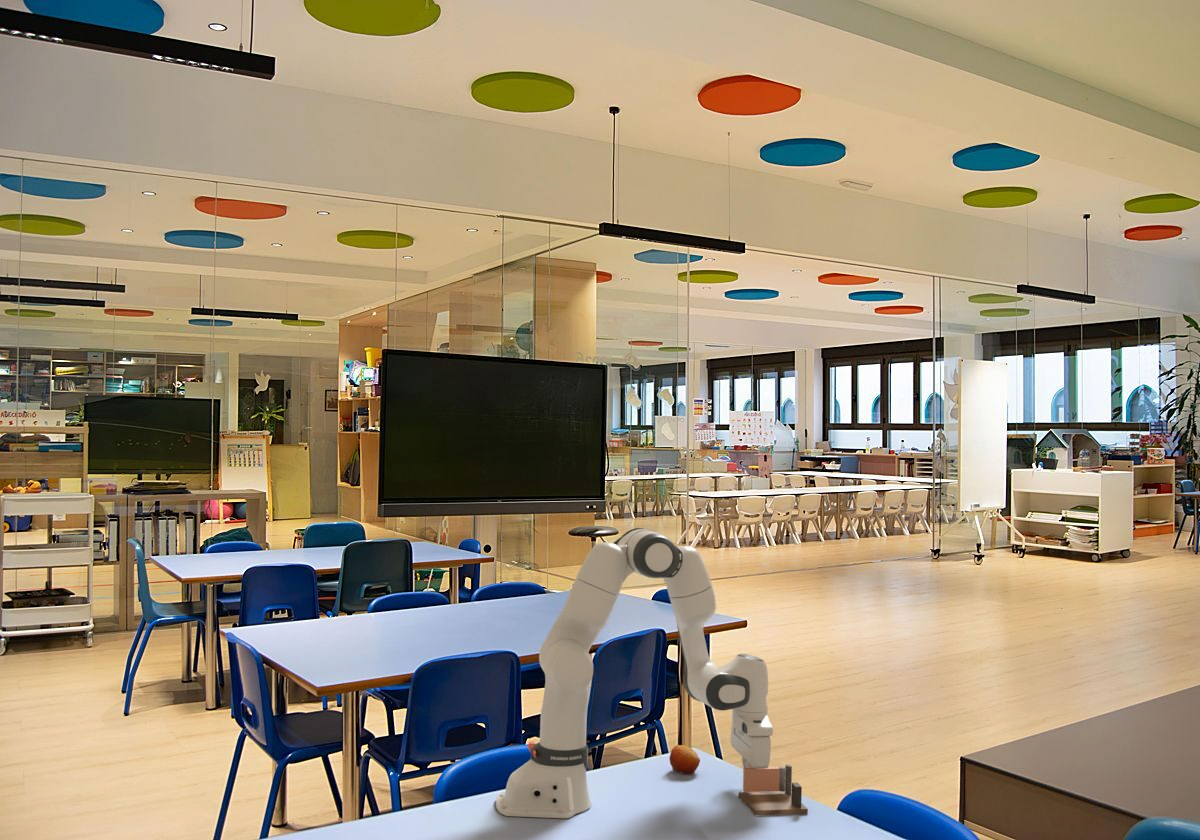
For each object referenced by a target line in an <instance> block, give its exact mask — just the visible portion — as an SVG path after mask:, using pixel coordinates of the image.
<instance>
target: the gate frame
mask: <svg viewBox="0 0 1200 840" xmlns="http://www.w3.org/2000/svg"><path fill="white" fill-rule="evenodd" d="M792 770H793V767H792V765H790V764H785V791H784V792H782V791H769V792H744V791H740V792H738V799H739V798H740V799H741V800H742V801H741V800H740V799H739V800H740V801H741V802H742V803H743V804H744V805H745V806H746V807H747V809H750V810H749V811H750V812H751V813H752V814H753V815H754V816H755V815H761V816H785V815H787V816H788V815H808V814H809V813H808V812H809V811H808V810H809V808H807V806H806V805H804V804H803V802H802V794H803V793H802V791H803V790H802V789H803V787H802V785H801V784H800V783H799V782H792V776H793V775H792V774H793V772H792Z"/></svg>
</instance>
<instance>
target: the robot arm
mask: <svg viewBox="0 0 1200 840" xmlns="http://www.w3.org/2000/svg"><path fill="white" fill-rule="evenodd" d="M634 573H636V574H637V575H640V576H644V577H647V578H649V579H650V578H651V579H663V582H664V583H665V585H666V589H667V593H668V597H669V601H670V604H671V607H672V611H673V613H674V614H673V615H674V617H675V622H676V626H677V627H676V628H677V632H678V636H679V640H680V641H679V642H680V646H681V651H682V655H683V660H684V661H683V662H684V674H683V685H684V689H685V691H686V694H687V695H688V696H689V697H690V698H692V699H693V700H695V701H697V702H700V703H702V704H704V705H706V706H708V707H710V708H712V709H714V710H717V711H728V710H731V714H732V715H731V729H730V746H731V747H732V748H733V749H734V750H735V751H736V752H737V753H738V754H739V755H740V756H741V762H742V763H741V764H742V766H743V767H742V769H743V768H756V769H764V768H769V765H770V760H771V746H772V744H771V742H772V741H771V736H773V733H774V729H773V726H772V724H771V722H770V719H769V715H768V713H769V711H768V709H769V708H768V704H767V703H768V702H767V697H768V694H769V674H768V667H767V663H766V662H765V661H764V660H763V659H762V658H760V657H758V656H755V655H752V654H747V653H740V654H737V655H736V656H735V657H734V658H733V659H732V660H730V662H728V663H726V664H724V665H722V666H720V667H718V666H717V665H716V664H715V663H714V662H713V661H712V659H711V658H710V656H709V653H708V647H707V643H706V638H705V634H704V626H705V624H706V623H707V622H709V621H710V620H711V618H712V617H713V615H715V612H716V610H717V603H716V595H715V591H714V588H713V585H712V581H711V577H710V574H709V571H708V568H707V567H706V564H705V562H704V560H703V558H702V556H701V555H700V552H699V551H698V549H696V548H695V547H693V546H689V545H680V546H676V544H675V543H674V542H673V541H672V540H671V539H670V538H669V537H667V536H665V535H663V534H661V533H659V532H657V531H656V530H653V529H649V528H644V527H635V528H631V529H630V530H628V531H626V532H625V533H624V534H623V535H622V536H621V537H619V538H618V539H616V540H615V541H614V542H610V541H602V542H601V541H600V542H598V543H596V544H594V546H593V547H592V548H591V550H590V551H589V553H587V556H586V557H585V559H584V561H583V562H582V565H581V567H580V568H579V571H578V573H577V575H576V578H575V579H574V583H573V585H572V586H571V589H570V591H569V594H568V597H567V599H566V601H565V604H564V605H563V608H562V610H561V611H560V613H559V615H558V617H557V619H556V620H555V621H554V623H553V625H552V627H551V629H550V630H549V632H548V634H547V636H546V637H545V638H546V639H544V642H543V643H542V644H541V646H540V649H539V653H538V655H539V656H538V661H539V665H540V667H541V670H542V671H543V673H544V678H545V680H544V681H545V683H544V691H543V698H542V706H541V709H540V724H539V725H540V726H539V728H540V729H539V742H538V743H536V742H535V741H529V742H528V744H527V749H528V751H529V752H530V759H528V761H527V762H525V763H524V764H523V765H521V766H520V767H518V768H517V769H516V770H514V771H513V772H512V773H511V774H509V775H510V776H509V777H508V779H507V782H506V786H505V791H504V792H500V793H499V794H498V795H497V797H496V799H495V807H496V808H495V809H497V811H498V812H499V813H500V814H501V815H504V816H506V817H522V818H525V817H526V818H545V819H546V818H549V819H551V818H552V819H570V818H571V817H573V816H575V815H576V814H578V813H583V812H585V811H587V810H588V809H589V808H590V807H591V806H592V802H591V800H590V799H591V798H590V795H589V789H588V788H589V787H588V781H587V780H588V779H587V768H588V763H589V762H588V761H589V748H588V744H587V725H588V724H587V722H588V721H587V717H588V706H589V703H590V702H589V701H590V694H591V688H592V681H593V676H594V661H593V658H592V656H591V654H590V653H589V652H590V649H591V647H592V646H593V644H594V643H595V641H596V639H597V638H598V636H599V634H600V633H601V632H602V630H604V628H605V627H606V625H607V623H608V621H609V618H610V616H611V613H612V611H613V610H614V606H615V604H616V601H617V599H618V597H619V595H620V591H621V588H622V586H623V584H624V583H625V581H626V579H627V578H628V577H629V576H630V575H632V574H634Z"/></svg>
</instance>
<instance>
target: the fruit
mask: <svg viewBox="0 0 1200 840" xmlns="http://www.w3.org/2000/svg"><path fill="white" fill-rule="evenodd" d="M700 762H701V759H700V757H699V754H698V753H697V752H696V751H695V750H694V749H692V748H691V747H689V746H687V745H681V744H680V745H679V744H677V745H675V746H674V747H673V748H672V749H671V751H670V755H669V764H670V766H671V768H672V769H671V770H673V773H672V775H674V774H676V773H679V774H684V775H692V774H694V772H696V771H697V769H698V767H699V766H700Z"/></svg>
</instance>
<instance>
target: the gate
mask: <svg viewBox="0 0 1200 840" xmlns="http://www.w3.org/2000/svg"><path fill="white" fill-rule="evenodd" d="M742 769H743V770H742V777H743V779H742V792H772V791H782V792H784V791H785V771H786V766H778V767H777V766H775V767H769V766H768V768H764V769H756V768H743V767H742Z"/></svg>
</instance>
